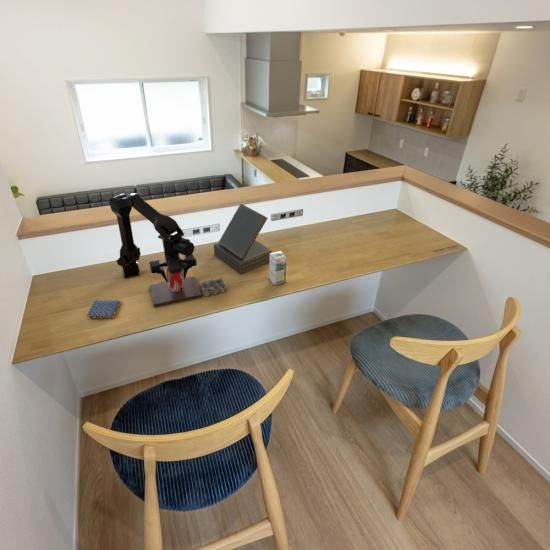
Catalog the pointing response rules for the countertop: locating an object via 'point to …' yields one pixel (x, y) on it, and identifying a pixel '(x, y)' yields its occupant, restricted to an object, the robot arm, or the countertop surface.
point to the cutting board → (165, 296)
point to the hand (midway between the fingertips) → (175, 280)
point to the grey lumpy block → (212, 286)
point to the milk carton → (277, 267)
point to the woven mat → (104, 309)
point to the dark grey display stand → (243, 241)
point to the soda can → (175, 281)
